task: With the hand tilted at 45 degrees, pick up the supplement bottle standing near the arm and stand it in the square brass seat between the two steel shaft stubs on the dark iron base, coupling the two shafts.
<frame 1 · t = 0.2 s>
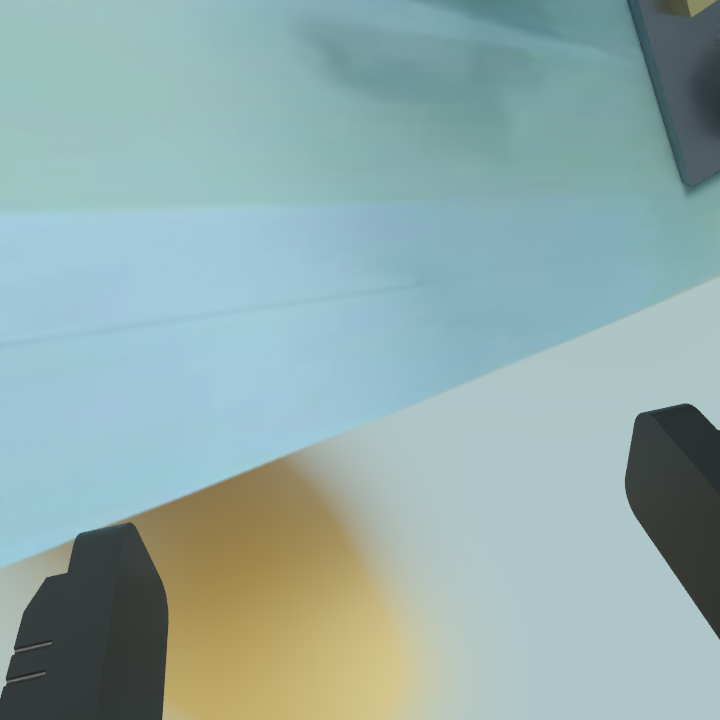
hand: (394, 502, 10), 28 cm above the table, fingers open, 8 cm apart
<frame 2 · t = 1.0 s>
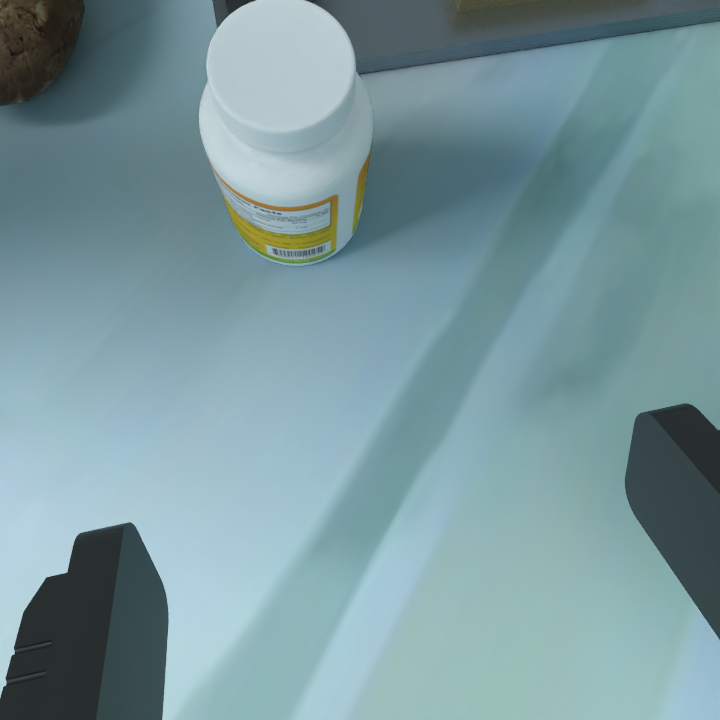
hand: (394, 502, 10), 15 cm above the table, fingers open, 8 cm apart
supplement bottle: (296, 207, 27), on the table
brown rough round lump: (11, 45, 28), on the table
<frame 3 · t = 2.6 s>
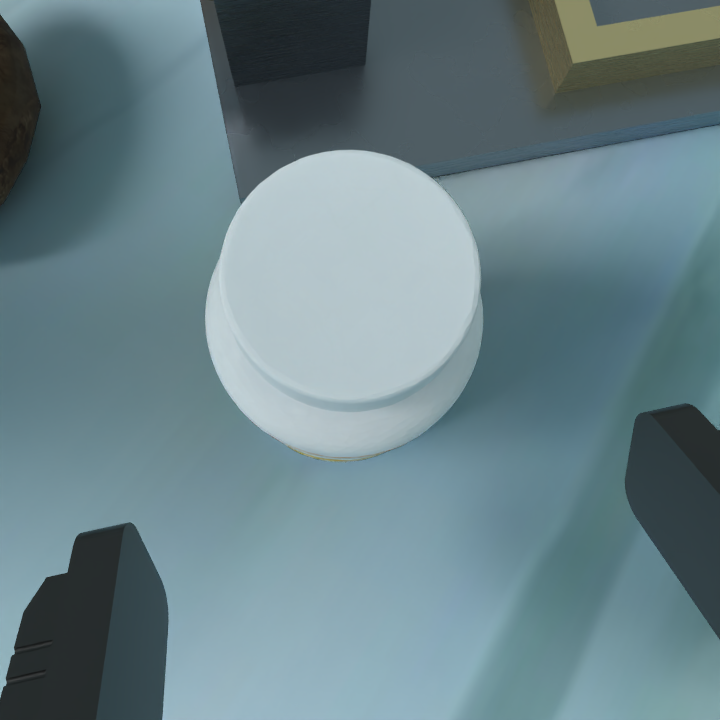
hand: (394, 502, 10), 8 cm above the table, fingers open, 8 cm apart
supplement bottle: (340, 371, 20), on the table
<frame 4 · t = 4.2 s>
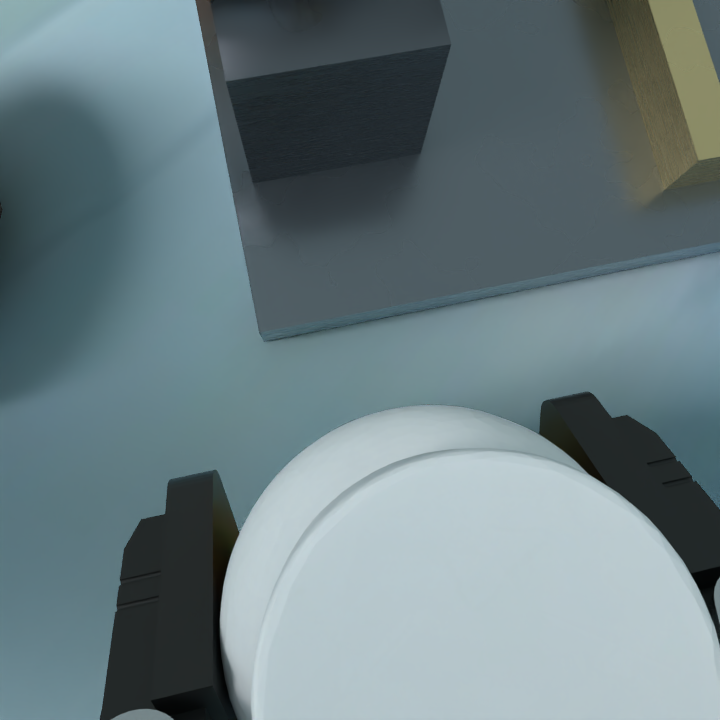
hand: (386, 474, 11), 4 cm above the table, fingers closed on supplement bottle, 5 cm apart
supplement bottle: (388, 552, 15), on the table, touching gripper
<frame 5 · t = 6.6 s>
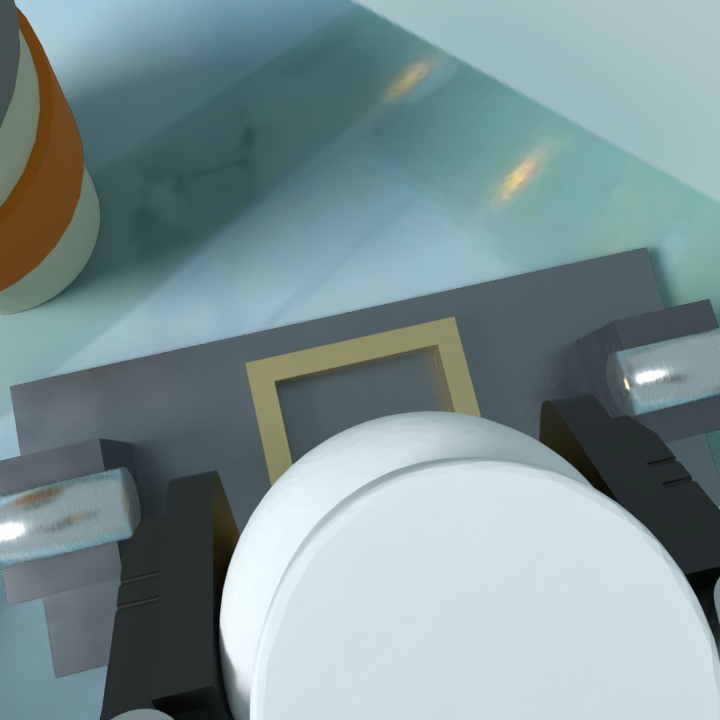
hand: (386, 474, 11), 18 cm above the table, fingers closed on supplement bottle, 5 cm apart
reusable coffee cup: (3, 222, 30), on the table
supplement bottle: (387, 555, 15), point 14 cm above the table, touching gripper
shaft bench: (372, 446, 29), on the table
when the fingers open (6 cm above the table, at t = 8.9 s): supplement bottle drops 1 cm, resting on shaft bench.
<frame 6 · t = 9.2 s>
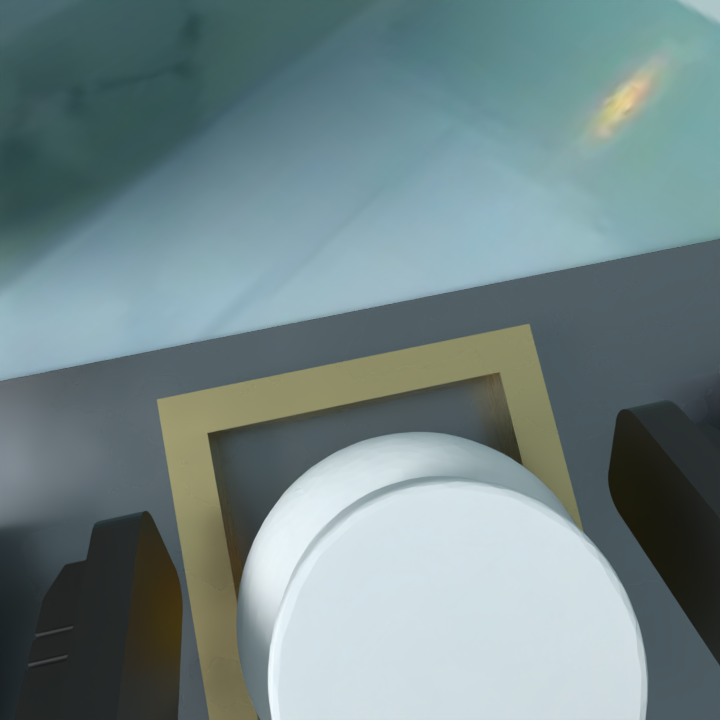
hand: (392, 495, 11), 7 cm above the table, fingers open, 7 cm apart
supplement bottle: (383, 555, 16), point 1 cm above the table, touching shaft bench
shaft bench: (380, 542, 17), on the table
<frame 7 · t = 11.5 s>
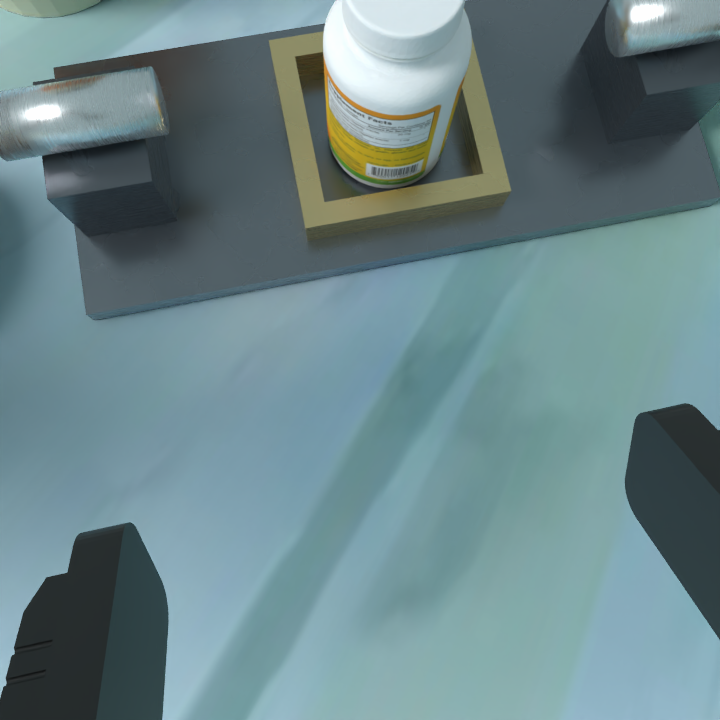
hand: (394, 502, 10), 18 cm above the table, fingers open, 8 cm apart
supplement bottle: (385, 139, 30), point 1 cm above the table, touching shaft bench
shaft bench: (384, 142, 31), on the table
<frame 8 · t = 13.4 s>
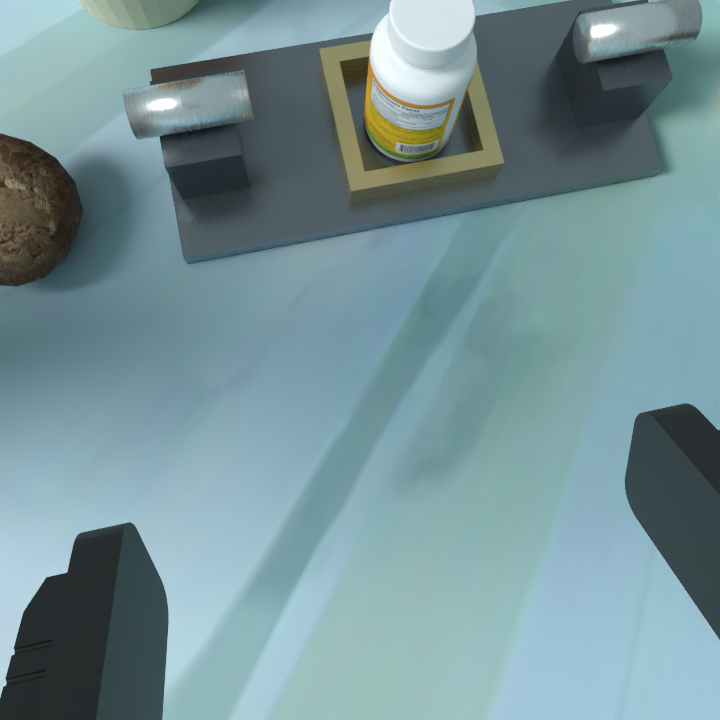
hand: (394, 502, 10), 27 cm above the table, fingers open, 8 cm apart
supplement bottle: (407, 124, 40), point 1 cm above the table, touching shaft bench
brown rough round lump: (30, 232, 39), on the table
shaft bench: (406, 127, 41), on the table
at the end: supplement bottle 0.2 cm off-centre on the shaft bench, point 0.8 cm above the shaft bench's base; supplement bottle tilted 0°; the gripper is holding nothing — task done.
